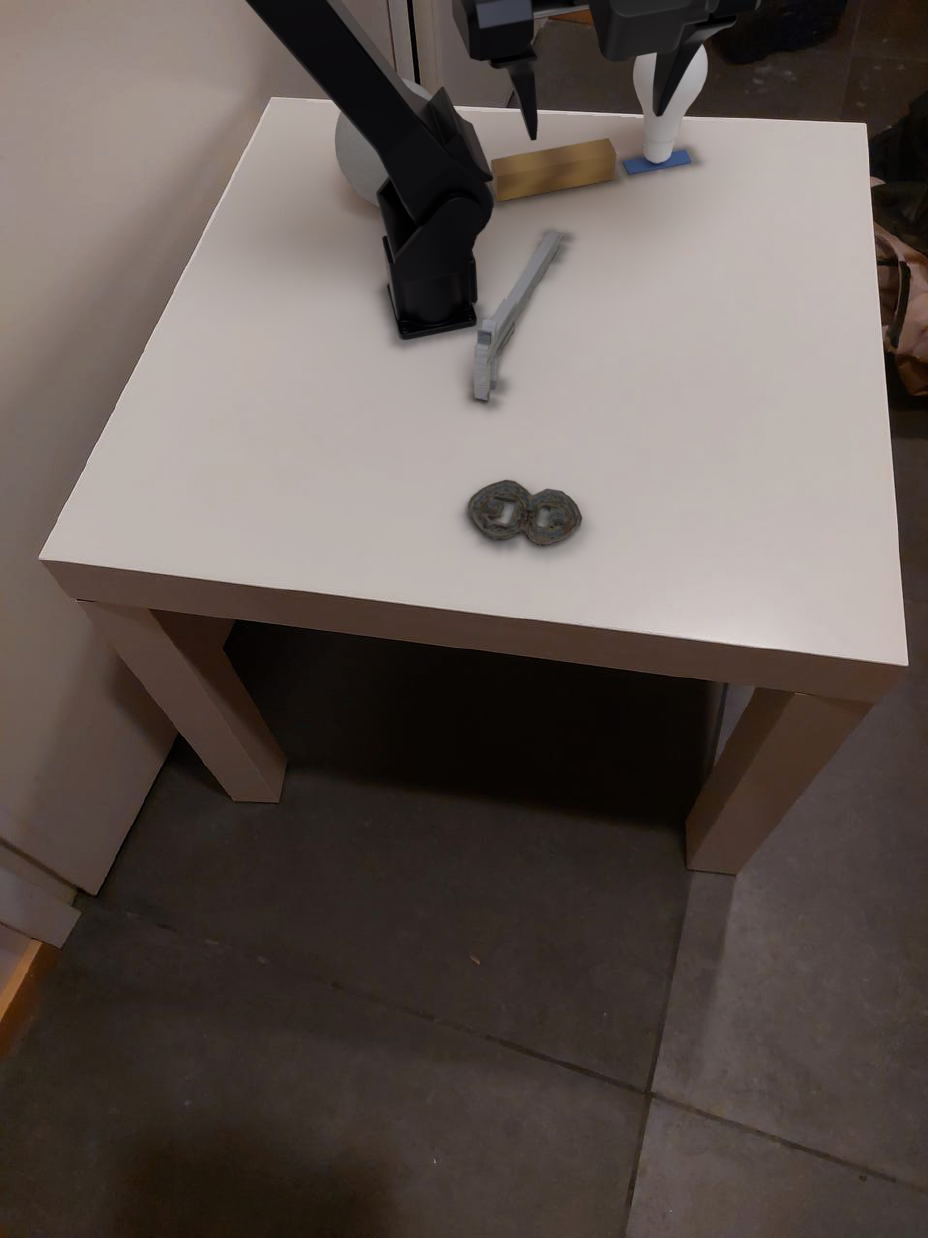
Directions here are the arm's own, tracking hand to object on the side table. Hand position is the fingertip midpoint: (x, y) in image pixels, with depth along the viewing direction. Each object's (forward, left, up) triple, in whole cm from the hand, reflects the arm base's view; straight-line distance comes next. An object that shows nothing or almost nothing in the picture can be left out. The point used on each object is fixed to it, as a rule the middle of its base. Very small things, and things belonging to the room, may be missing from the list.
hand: (594, 125), depth 60 cm
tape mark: (+11, +13, -13) cm, 21 cm away
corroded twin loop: (-11, -23, -13) cm, 29 cm away
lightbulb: (+11, +13, -13) cm, 21 cm away
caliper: (-6, -3, -13) cm, 15 cm away
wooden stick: (+1, +13, -13) cm, 18 cm away
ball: (-13, +15, -13) cm, 24 cm away
